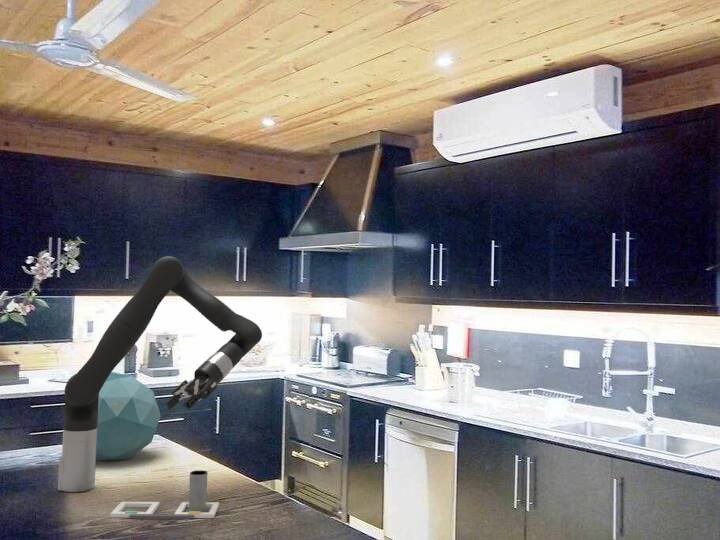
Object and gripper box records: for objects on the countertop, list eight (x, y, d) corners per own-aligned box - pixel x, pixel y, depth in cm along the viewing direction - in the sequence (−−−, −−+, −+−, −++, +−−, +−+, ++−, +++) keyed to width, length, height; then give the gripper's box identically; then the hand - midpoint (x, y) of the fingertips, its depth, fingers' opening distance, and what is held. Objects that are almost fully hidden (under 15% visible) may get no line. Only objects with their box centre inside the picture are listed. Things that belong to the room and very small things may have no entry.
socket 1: (110, 517, 171) (110, 512, 171) (121, 505, 181) (121, 500, 181) (150, 517, 172) (150, 512, 172) (159, 505, 182) (159, 500, 182)
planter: (196, 508, 181) (198, 469, 181) (209, 511, 179) (211, 471, 179) (184, 512, 177) (186, 473, 177) (198, 515, 175) (199, 475, 175)
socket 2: (174, 517, 172) (174, 512, 172) (181, 505, 182) (181, 501, 182) (213, 518, 173) (213, 513, 173) (219, 506, 183) (219, 501, 183)
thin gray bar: (129, 518, 171) (129, 515, 171) (130, 517, 172) (130, 514, 172) (193, 519, 172) (193, 516, 172) (193, 518, 173) (193, 515, 173)
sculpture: (169, 408, 255) (129, 346, 242) (180, 448, 229) (135, 382, 216) (98, 448, 249) (53, 388, 236) (101, 495, 224) (50, 430, 211)
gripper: (192, 361, 202) (155, 396, 191) (223, 359, 193) (185, 395, 182) (205, 380, 205) (168, 416, 193) (235, 379, 196) (199, 417, 184)
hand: (176, 406), depth 188 cm, fingers open, 8 cm apart
